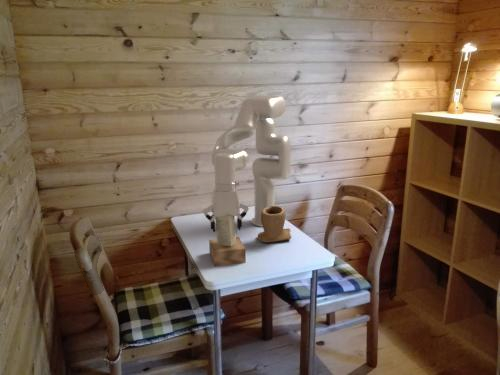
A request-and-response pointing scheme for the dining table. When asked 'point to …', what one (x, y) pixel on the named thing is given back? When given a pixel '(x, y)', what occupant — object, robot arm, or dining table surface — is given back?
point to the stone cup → (273, 225)
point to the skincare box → (225, 230)
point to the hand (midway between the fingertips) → (226, 229)
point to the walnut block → (227, 253)
